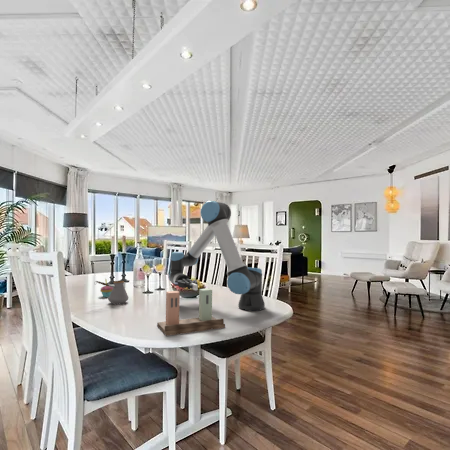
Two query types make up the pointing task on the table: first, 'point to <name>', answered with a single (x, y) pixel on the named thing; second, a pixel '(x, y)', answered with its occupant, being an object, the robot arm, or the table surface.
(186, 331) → the wooden board
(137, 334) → the table surface
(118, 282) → the coffee pot
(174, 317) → the salmon orange rectangular block
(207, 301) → the pale green block
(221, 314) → the table surface
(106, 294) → the cupcake
